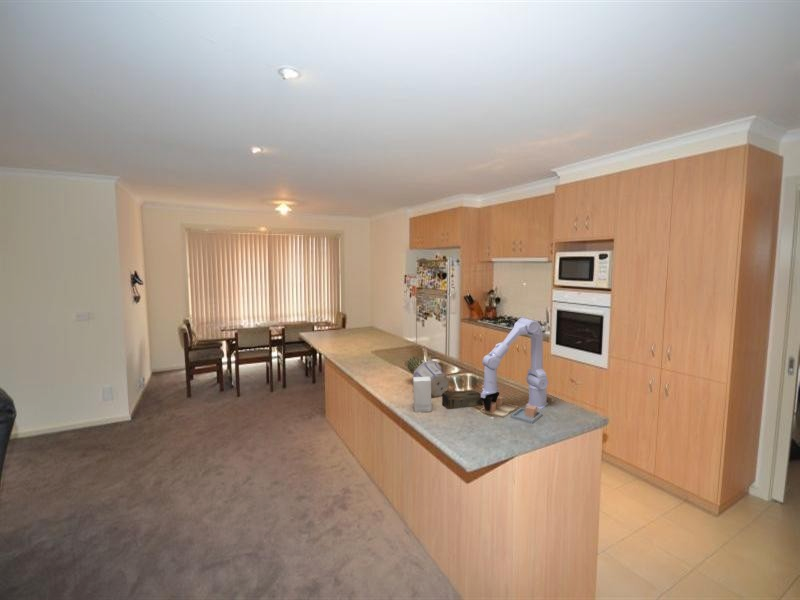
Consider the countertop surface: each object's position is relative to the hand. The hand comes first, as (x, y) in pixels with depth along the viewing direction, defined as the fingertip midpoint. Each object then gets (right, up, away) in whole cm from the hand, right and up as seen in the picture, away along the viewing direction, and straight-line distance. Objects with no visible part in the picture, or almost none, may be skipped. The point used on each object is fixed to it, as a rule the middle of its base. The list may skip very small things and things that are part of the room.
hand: (489, 408), depth 183 cm
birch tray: (+5, -1, +2) cm, 5 cm away
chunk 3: (+18, -2, -6) cm, 19 cm away
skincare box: (-32, -2, +3) cm, 32 cm away
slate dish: (+15, -2, -7) cm, 17 cm away
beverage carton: (-12, -1, +8) cm, 14 cm away
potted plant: (-28, +1, +31) cm, 42 cm away
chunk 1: (0, -1, 0) cm, 1 cm away
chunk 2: (+5, 0, +7) cm, 9 cm away
